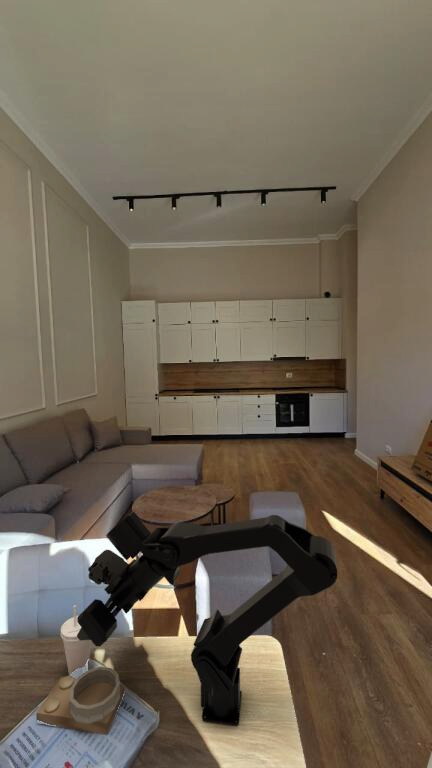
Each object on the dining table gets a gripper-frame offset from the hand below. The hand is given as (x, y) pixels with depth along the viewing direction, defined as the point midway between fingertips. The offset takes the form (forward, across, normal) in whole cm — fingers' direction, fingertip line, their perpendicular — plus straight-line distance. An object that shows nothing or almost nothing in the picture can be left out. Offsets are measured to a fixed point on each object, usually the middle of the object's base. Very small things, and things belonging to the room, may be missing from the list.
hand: (93, 621), depth 71 cm
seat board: (+6, +7, +10) cm, 13 cm away
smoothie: (+11, 0, +6) cm, 12 cm away
